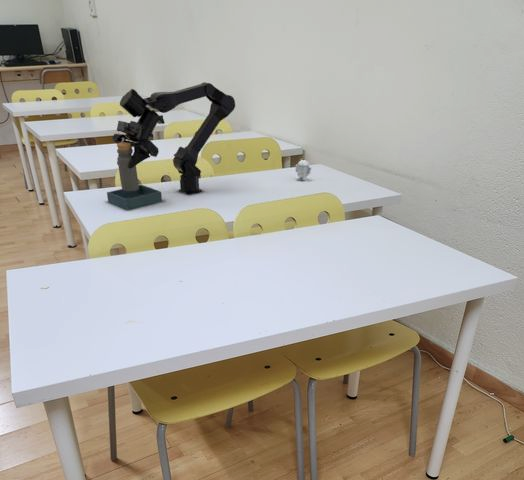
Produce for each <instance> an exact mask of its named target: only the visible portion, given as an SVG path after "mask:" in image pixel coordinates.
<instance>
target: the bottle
mask: <svg viewBox="0 0 524 480" xmlns="http://www.w3.org/2000/svg"><path fill="white" fill-rule="evenodd" d="M116 147H117V149H116V153H117V154H119V155H120V156H119V157H118V156H117V158H116V159H117V161H118V164H117V166H118V172H119V180H120V185H121V186H120V187H121V189H122V190H124V191H135V190H138V189H139V185H140V184H139V177H138V171H137V165H136V166H134V167H133V168H131V169H130V168H129V167H128V165H129V162H130V160H131V158H132V156H133V153H134V148H133V147H132V148H131V143H128V142H122V143H118V144H117V143H116ZM132 152H133V153H132ZM131 153H132V154H131Z"/></svg>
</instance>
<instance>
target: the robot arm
mask: <svg viewBox="0 0 524 480" xmlns="http://www.w3.org/2000/svg"><path fill="white" fill-rule="evenodd" d="M201 98H206V99H207V100H208V101H209V102H210V103H211V104H210V108H209V112H208V114H207V116H206V118H205V119H204V121H203V122H202V123H201V125H200V126H199V128H198V129H197V131H196V132H195V134H193V137H192V138H191V139H190V141H189V143H188V144H187V145H186V146H184V147H183V146H179V147H178V148H177V150H176V152H175V153H174V154H173V158H172V163H173V167H174V168H175V169H176V170H177V172H178V174H180V177H179V178H180V179H179V186H180V187H179V188H180V189H178V191H179V192H181V193H184V194H187V195H192V194H197V193H200V192H202V191H203V189H201V188H200V180H199V177H201V174H202V170H201V169H199V167H198V166H196V165H197V162H198V159H199V154H200V152H201V150H202V149H203V148H204V146H205V144H207V142H208V140H209V139H210V138H211V136H212V134H213V133H214V131H215V130H216V129H217V127H218V126H219V124H220V122H221V121H223V120H225V119H226V118H228V117H229V116H230V114H231V113H232V112H234V110H235V108H236V101H235V98H234V97H233V96H232V95H230V94H226V93H225V92H223V91H221V90H220V89H219V88H217V87H216V86H214V84H212V83H210V82H206V81H205V82H204V81H203V82H202V83H199V84H196V85H193V86H188V87H185V88H182V89H178V90H175V91H155V92H153V93H151V94H150V96H148V97H145V98H144V97H142V96H141V95H140V94H139V92H137V90H136V89H134V88H130V90H129V91H128V92H126V93H125V94H124V95H122V97H121V99H120V101H119V106H120V107H121V108H122V109H123V110H125V112H127V113H128V114H129V115H130V116H131V117H133V118H139V119H138V120H137V121H134V120H130V121H129V122H127V121H123V120H118V121H117V126H116V131H117V133H114V134H113V136H112V138H111V140H112V141H113V142H114V143H115V144H116V145H117V144H118V143H122V142H128V143H131V148H132V149H133V152H132V153H131V154H132V155H133V156H132V158H131V160H130V162H129V165H128V167H129V168H130V169H131V168H133V167H134V166H136V167H137V165H138V164H140V163H142V162H143V161H145V160H147V159H150V158H151V157H154V158H157V157H158V155H159V152H160V150H159V148H158V146H157V145H155V144H154V143H153V141H151V139H153V138H154V134H153V132H154V130H155V128H156V126H157V125H165V119H164V115H163V114H166V113H168V112H170V111H172V110H174V109H175V108H176V107H178V106H180V105H181V104H184V103H187V102H191V101H195V100H198V99H201ZM150 108H151V109H150ZM158 112H159V113H162V114H161V115H160V114H159V113H158ZM118 132H121V133H118ZM122 133H123V134H122ZM124 134H125V135H124ZM117 154H118V155H117V158H118V157H119V156H120V155H119V153H117ZM116 164H117V165H118V160H117V161H116Z"/></svg>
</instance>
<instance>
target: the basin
mask: <svg viewBox="0 0 524 480" xmlns="http://www.w3.org/2000/svg"><path fill="white" fill-rule="evenodd" d="M138 185H139V189H138V190H135V191H124V190H122V188H119V189H116V190H111V191H106V198H107V203H109V204H112V205H114V206H117V207H119V208H121V209H124V210H126V211H129V210H133V209H137V208H141V207H146V206H149V205H154V204H157V203H162V202H163V196H162V195H163V194H162V191H160V190H158V189H155V188H152V187H149V186H147V185H143V184H138Z"/></svg>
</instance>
